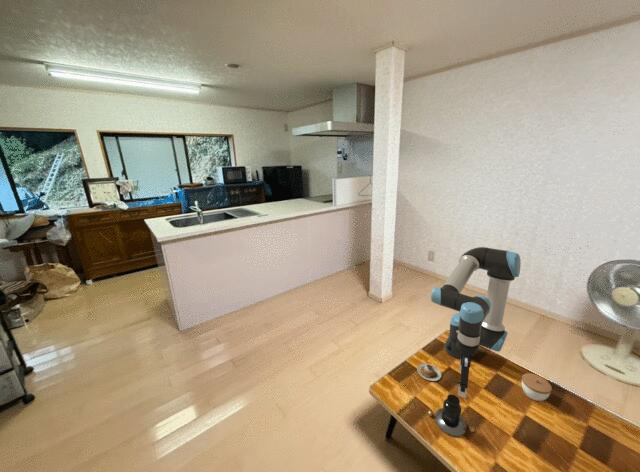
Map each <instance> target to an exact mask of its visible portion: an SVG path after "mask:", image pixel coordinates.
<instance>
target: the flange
mask: <svg viewBox="0 0 640 472" xmlns="http://www.w3.org/2000/svg"><path fill="white" fill-rule="evenodd" d="M442 410H443V407H442V408H439V409H437V411H436V412H435V414H434V411H433V410H431V409H429V410H427V415H428V417H430V418H433V417H434V419H435V420H434V421H435V424H436V425H437V427H438V428H439V430H441V431H442V432H443V433H444V434H446V435H447V436H450V437H455V438H456V437H458V438H461V437H463V436H464V435H465V434H466V432H467V422H466V420H465V418H463V416H462V415H460V421H459V425H458V426H457V427H455V428H452V427H449V426H447V425H446V424H445V423H444V422H443V420H442ZM468 432H469V433H470V434H475V427H474V426H472V425H469V427H468Z"/></svg>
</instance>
